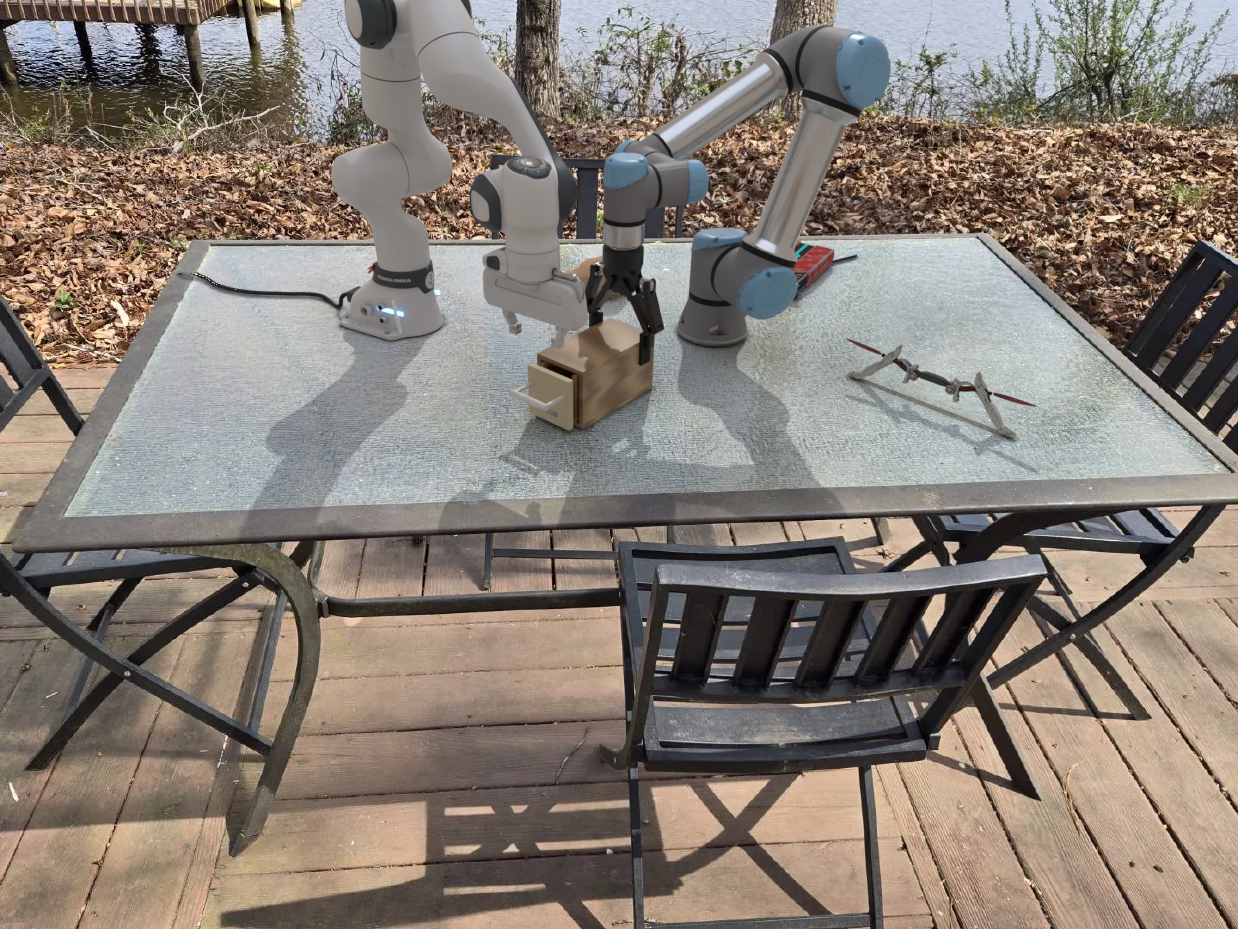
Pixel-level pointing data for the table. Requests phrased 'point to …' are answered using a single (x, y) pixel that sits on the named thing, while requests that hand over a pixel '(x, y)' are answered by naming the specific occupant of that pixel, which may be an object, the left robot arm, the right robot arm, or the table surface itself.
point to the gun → (810, 263)
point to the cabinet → (603, 368)
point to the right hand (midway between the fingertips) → (620, 353)
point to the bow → (950, 387)
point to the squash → (584, 273)
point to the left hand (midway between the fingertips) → (536, 339)
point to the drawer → (551, 394)
